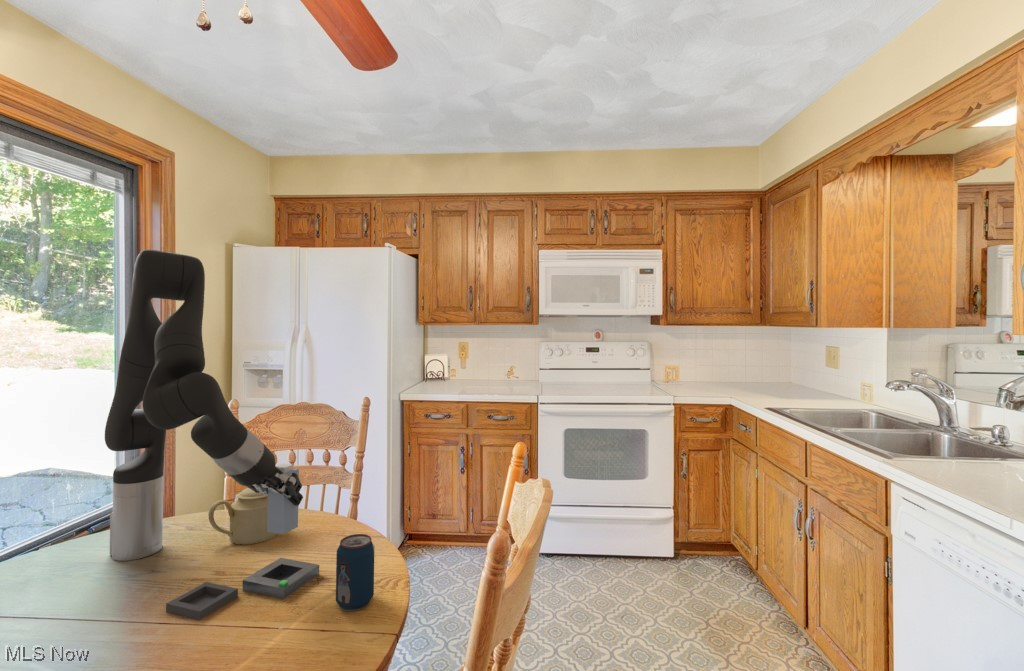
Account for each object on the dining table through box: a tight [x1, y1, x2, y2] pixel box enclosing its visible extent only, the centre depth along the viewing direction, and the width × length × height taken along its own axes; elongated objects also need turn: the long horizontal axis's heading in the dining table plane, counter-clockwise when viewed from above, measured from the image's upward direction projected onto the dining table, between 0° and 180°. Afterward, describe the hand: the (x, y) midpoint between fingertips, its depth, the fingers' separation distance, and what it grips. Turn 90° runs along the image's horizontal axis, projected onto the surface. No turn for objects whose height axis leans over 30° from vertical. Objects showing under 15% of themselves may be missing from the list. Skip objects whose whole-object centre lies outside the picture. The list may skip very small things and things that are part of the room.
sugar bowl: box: [207, 487, 278, 545], centre depth 118 cm, size 15×11×15 cm
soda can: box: [335, 533, 375, 612], centre depth 91 cm, size 7×7×12 cm
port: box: [241, 557, 320, 600], centre depth 97 cm, size 10×10×3 cm
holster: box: [165, 581, 239, 621], centre depth 89 cm, size 8×8×2 cm
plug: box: [267, 463, 300, 535], centre depth 97 cm, size 4×4×13 cm
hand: (290, 499), depth 99 cm, fingers closed on plug, 4 cm apart
